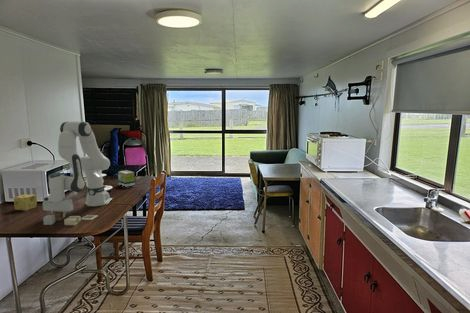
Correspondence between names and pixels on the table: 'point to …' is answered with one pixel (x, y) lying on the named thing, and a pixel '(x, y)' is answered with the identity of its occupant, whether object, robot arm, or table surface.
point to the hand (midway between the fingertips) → (59, 216)
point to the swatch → (89, 217)
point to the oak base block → (72, 220)
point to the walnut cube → (58, 215)
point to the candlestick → (103, 181)
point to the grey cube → (49, 219)
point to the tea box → (126, 178)
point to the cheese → (25, 202)
